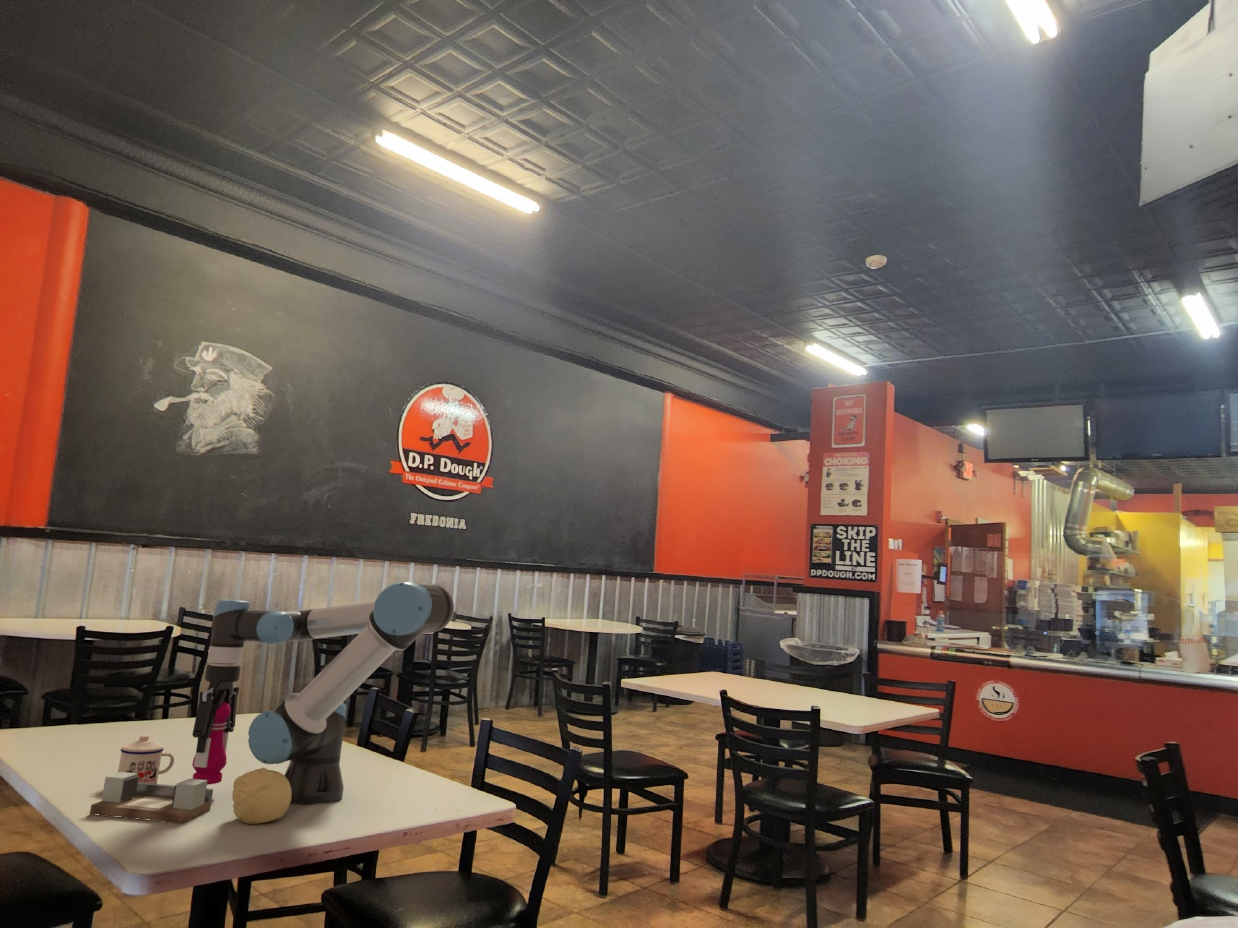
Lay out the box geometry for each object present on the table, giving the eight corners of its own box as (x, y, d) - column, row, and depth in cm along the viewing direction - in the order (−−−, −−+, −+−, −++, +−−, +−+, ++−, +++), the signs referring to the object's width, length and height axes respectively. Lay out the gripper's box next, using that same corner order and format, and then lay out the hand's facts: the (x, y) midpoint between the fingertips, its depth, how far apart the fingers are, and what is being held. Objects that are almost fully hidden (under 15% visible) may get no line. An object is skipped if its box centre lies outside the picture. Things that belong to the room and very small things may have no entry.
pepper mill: (198, 786, 184) (211, 696, 188) (183, 780, 189) (197, 693, 192) (229, 782, 190) (241, 695, 193) (214, 776, 194) (226, 691, 198)
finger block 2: (203, 803, 176) (207, 780, 177) (190, 809, 171) (194, 785, 172) (183, 801, 177) (187, 778, 177) (170, 807, 172) (174, 783, 173)
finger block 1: (136, 797, 177) (140, 773, 178) (121, 802, 172) (125, 778, 173) (116, 795, 177) (120, 771, 178) (101, 800, 173) (105, 776, 173)
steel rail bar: (211, 800, 179) (213, 789, 180) (208, 801, 178) (210, 790, 179) (125, 792, 181) (127, 780, 181) (122, 793, 179) (124, 782, 180)
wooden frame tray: (210, 809, 179) (211, 800, 179) (180, 823, 168) (182, 813, 168) (124, 801, 180) (125, 791, 181) (89, 814, 169) (91, 804, 170)
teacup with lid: (118, 791, 187) (127, 740, 189) (110, 783, 194) (119, 733, 196) (174, 787, 195) (182, 737, 197) (165, 778, 202) (173, 730, 204)
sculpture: (220, 816, 175) (228, 765, 177) (275, 810, 183) (282, 760, 185) (239, 830, 167) (247, 776, 168) (296, 822, 175) (303, 771, 177)
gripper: (230, 660, 204) (216, 754, 200) (185, 666, 184) (168, 770, 180) (259, 662, 203) (246, 756, 200) (216, 668, 184) (201, 773, 180)
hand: (209, 763), depth 190 cm, fingers closed on pepper mill, 7 cm apart
